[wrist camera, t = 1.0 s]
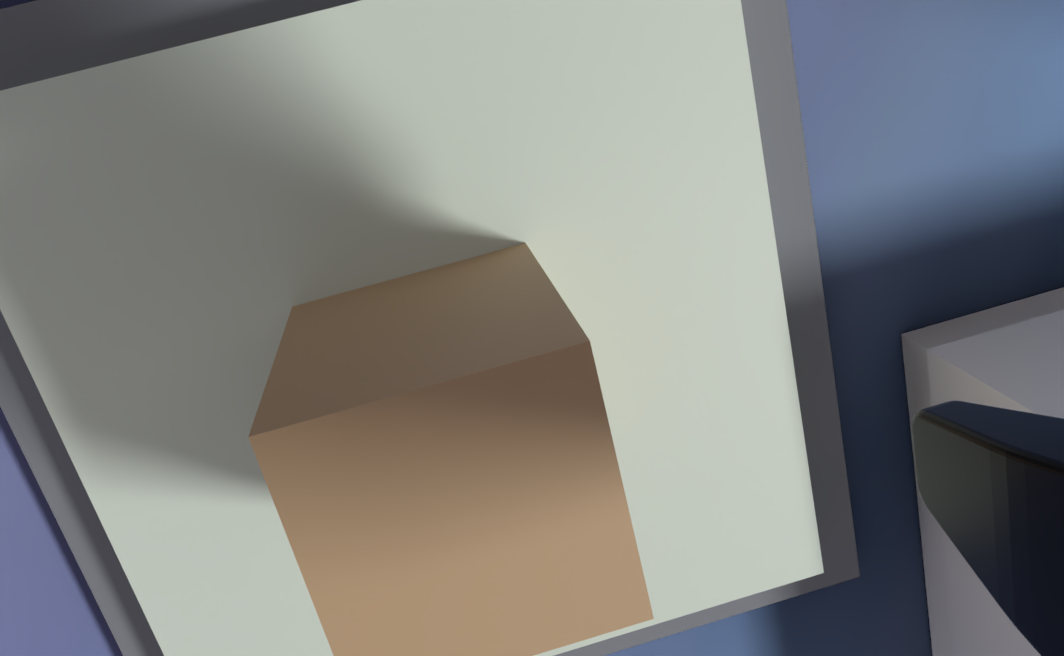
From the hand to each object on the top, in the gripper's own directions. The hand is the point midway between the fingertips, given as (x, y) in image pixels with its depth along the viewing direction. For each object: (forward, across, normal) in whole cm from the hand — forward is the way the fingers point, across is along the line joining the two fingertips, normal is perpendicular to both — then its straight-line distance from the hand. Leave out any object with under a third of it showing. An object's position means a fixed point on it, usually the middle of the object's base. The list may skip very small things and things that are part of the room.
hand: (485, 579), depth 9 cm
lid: (+6, 0, 0) cm, 6 cm away
